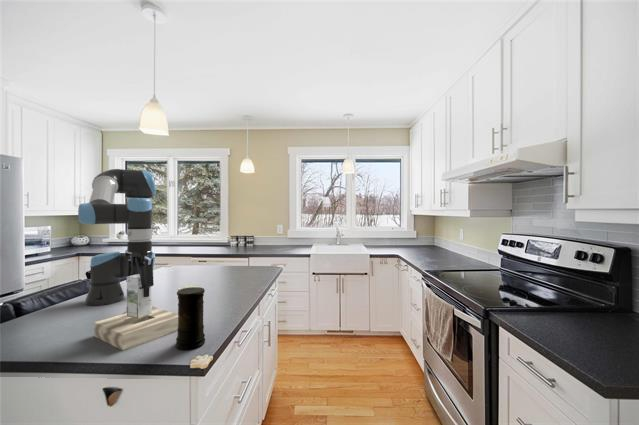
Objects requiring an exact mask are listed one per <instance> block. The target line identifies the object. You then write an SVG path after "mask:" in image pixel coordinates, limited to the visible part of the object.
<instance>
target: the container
mask: <svg viewBox="0 0 639 425" xmlns="http://www.w3.org/2000/svg"><path fill="white" fill-rule="evenodd" d="M205 291H206V290H205V288H203V287H201V288H200V287H190V288H184V289H180V290H178V289H177V292H176V295H177V301H179V303H177V306H178V307H177V314H178V329H177V331H176V332H177V337H176V338H175V339H176V340H175V341H176V343H175V347H176V349H177V350H180V351H191V350H196V349H199V348H200V347H202V346H204V344H205V342H206V338H205V337H206V336H205V335H206V334H205V332H204V331H205V330H204V329H205V326H204V303H205V301H204V296H205Z"/></svg>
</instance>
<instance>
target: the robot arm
mask: <svg viewBox="0 0 639 425" xmlns="http://www.w3.org/2000/svg"><path fill="white" fill-rule="evenodd" d="M91 188H92V192H91V195H90V199H89V201H88V202H87V203H85V202H84V203H80V204H79V205H78V209H77V210H78V211H77V213H78V214H77V217H78V222H79V224H83V225H108V224H109V225H112V224H113V225H114V224H116V225H117V224H121V225H122V224H123V225H124V224H126V225H127V231H126V235H127V240H128V242H127V243H126V244H127V246H126V247H127V248H126V250H125V252H124V253H125V254H121V252H120V251H112V252H111V251H110V252H105V253H100V254H97V255H94V256H92V257H91V259H90V266H89V268H90V286H89V290H88V292H87V294H86V298H85V304H86V306H87V305H88V306H104V305H110V304H114V303H119V302H120V301H123V300H124V299H125V293H124V290H123V288H122V285H121V279H125V278H126V280H125V282H126V283H127V277H128V276H131V275H135V274H140V277H141V284H142V287H140V307H144V306H148V305H149V288H150V287H151V288H152V287H154V268H155V258H156V253H155V252H153V249H152V248H153V242H152V239H153V237H152V236H153V229H152V228H153V226H152V222H153V219H152V217H153V215H152V214H153V204H152V203H153V202H152V199H153V196H154V195H156V194H157V190H156V181H155V176H154V174H153V172H151V171H148V170H142V169H141V170H136V169H123V168H122V169H121V168H116V169H115V168H114V169H113V168H111V169H108V170H105V171H102V172H101V173H99V174H97V175H96V176H95V177H94V178H93V180H92V183H91ZM115 194H124V195H125V196H124V197H125V199H127V203H114V199H115Z"/></svg>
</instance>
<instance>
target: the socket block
mask: <svg viewBox="0 0 639 425" xmlns="http://www.w3.org/2000/svg"><path fill="white" fill-rule="evenodd" d="M93 326H94V332H93V334H94V336H93V337H95V338H97V339H99V340H101V341H103V342H105V343H106V344H109V345H110V346H113V347H115V348H117V349H119V350H121V351H126V350H129V349H131V348H134V347H137V346H139V345H142V344H144V343H148V342H150V341H152V340H153V341H154V340H156V339H158V338H161V337H163V336H166V335H169V334H173V333H174V332H178V331H177V329H178V313H175V312H172V311H168V310H165V309H161V308H158V307H156V306H152V313H151V314H149V315H146V316H144V317H141V318H134V317H128V316H127V313H126V314H123V313H122V314H119V315H115V316H112V317H108V318H105V319H104V318H103V319H101V320H100V319H99V320H96V321H94V324H93Z"/></svg>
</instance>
